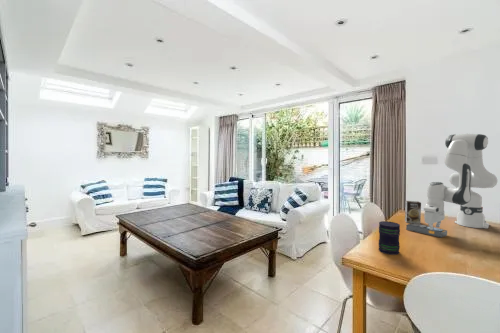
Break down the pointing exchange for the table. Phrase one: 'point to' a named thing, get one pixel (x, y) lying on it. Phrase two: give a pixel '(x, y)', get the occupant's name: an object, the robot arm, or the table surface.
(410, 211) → the coffee box
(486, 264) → the table surface
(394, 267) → the table surface
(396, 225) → the storage jar
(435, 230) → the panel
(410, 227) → the rack
